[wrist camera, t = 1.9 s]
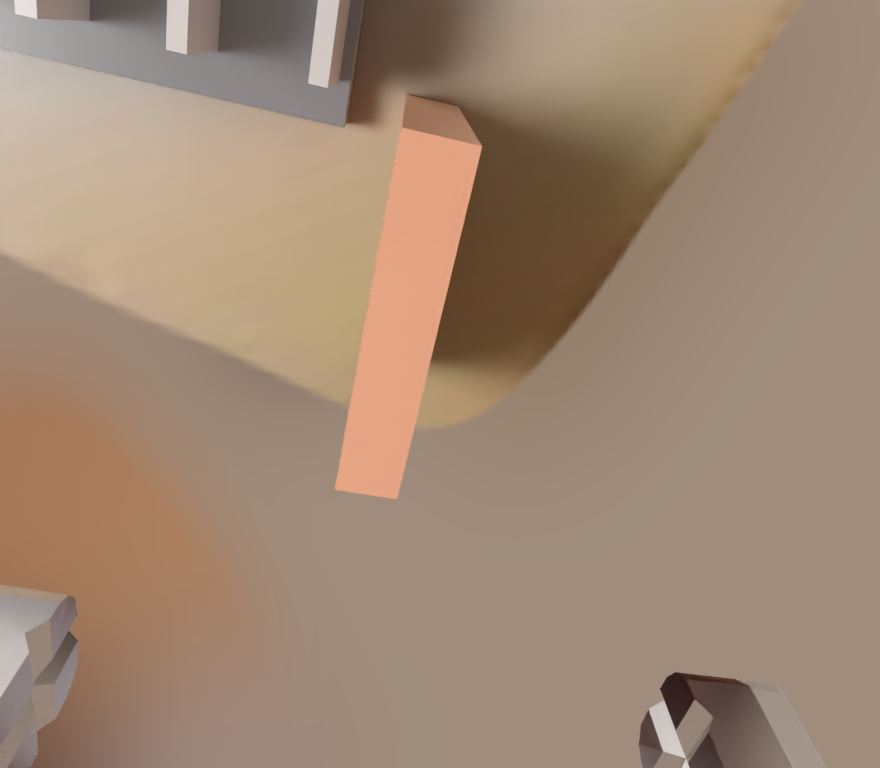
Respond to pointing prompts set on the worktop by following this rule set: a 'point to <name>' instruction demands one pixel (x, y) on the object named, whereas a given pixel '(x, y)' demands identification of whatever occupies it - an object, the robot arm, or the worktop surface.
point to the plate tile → (407, 292)
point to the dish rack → (205, 46)
